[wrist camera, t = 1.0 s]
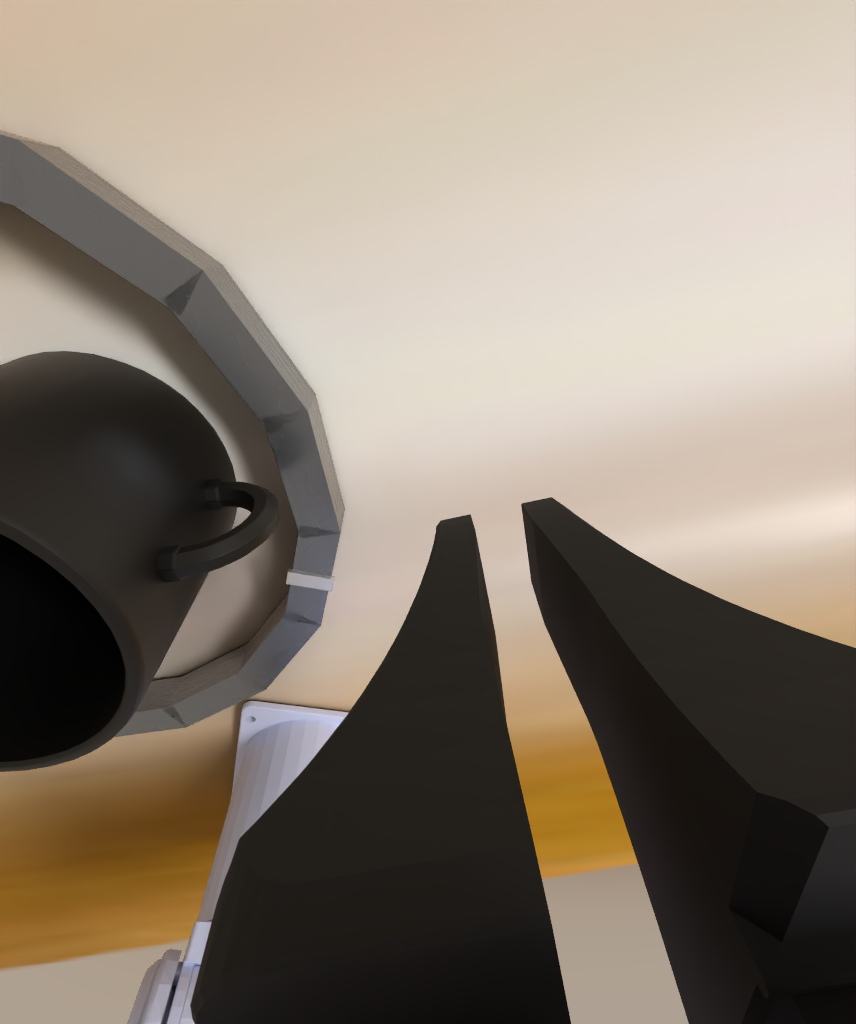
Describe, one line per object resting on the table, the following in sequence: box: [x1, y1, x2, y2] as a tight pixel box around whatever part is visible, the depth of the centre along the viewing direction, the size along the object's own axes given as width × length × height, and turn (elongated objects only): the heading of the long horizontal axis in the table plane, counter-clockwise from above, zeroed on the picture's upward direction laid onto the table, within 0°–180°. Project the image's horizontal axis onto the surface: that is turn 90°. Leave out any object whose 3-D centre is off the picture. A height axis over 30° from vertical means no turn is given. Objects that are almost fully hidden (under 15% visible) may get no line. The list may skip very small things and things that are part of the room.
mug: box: [0, 351, 278, 772], centre depth 15 cm, size 9×12×9 cm
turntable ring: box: [0, 130, 345, 737], centre depth 18 cm, size 24×24×2 cm
